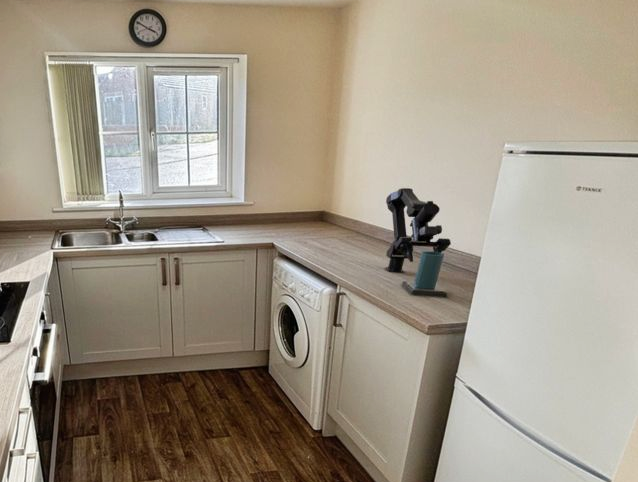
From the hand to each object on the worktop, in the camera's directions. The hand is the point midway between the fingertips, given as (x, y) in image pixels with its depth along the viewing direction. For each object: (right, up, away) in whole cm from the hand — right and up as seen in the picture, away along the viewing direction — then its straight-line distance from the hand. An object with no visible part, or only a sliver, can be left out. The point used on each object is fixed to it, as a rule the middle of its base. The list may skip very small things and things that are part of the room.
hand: (424, 262), depth 182 cm
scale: (-1, -12, -1) cm, 12 cm away
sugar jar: (-1, -10, -2) cm, 10 cm away
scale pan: (-1, -10, -2) cm, 11 cm away
